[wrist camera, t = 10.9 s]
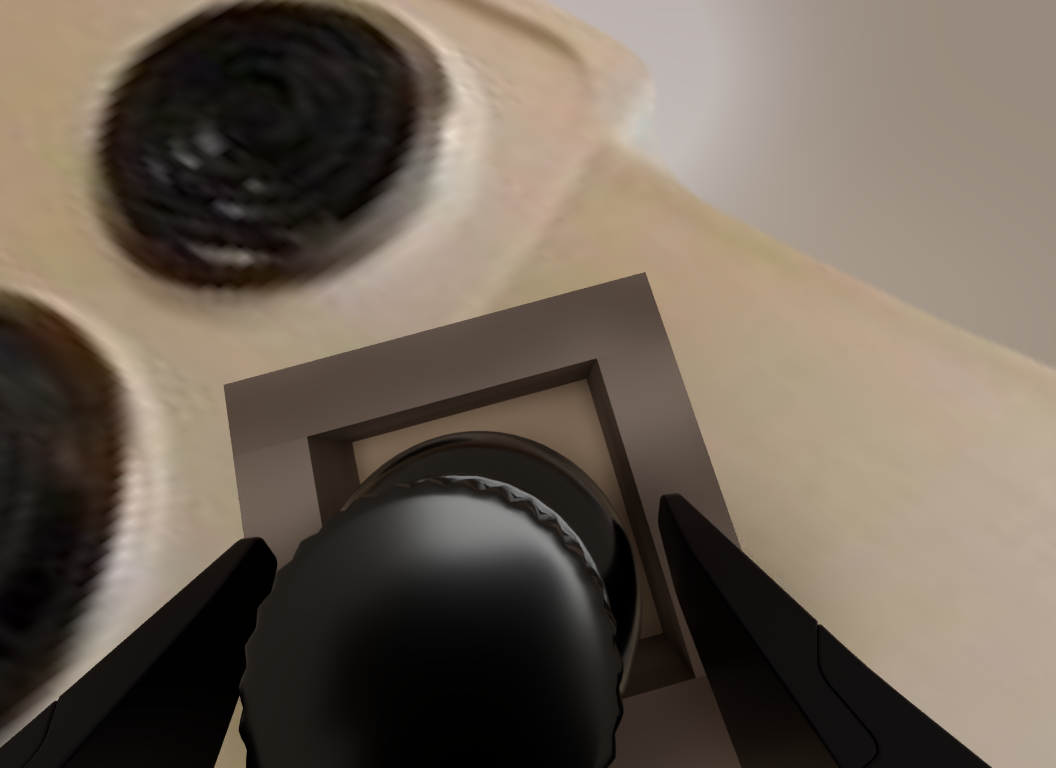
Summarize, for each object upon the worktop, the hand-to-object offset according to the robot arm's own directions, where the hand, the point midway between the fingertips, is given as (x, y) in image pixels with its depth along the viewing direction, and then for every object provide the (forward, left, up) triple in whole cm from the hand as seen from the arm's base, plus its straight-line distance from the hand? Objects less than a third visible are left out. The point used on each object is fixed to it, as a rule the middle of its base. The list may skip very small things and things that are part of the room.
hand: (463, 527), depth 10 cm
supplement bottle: (-1, 0, -8) cm, 8 cm away
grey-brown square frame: (-1, 0, -9) cm, 9 cm away
